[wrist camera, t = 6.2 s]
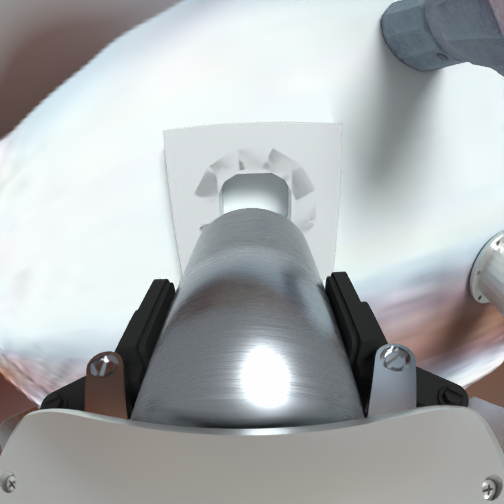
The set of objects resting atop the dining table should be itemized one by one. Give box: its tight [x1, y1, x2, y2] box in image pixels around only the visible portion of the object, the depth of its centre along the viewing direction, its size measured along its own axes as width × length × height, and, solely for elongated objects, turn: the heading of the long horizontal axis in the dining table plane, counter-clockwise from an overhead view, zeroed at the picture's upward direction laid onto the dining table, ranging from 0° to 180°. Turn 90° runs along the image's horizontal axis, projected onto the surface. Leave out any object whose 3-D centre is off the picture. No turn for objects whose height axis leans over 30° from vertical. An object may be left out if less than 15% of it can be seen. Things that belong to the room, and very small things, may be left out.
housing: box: [163, 122, 342, 279], centre depth 28 cm, size 16×16×3 cm
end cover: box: [130, 208, 366, 429], centre depth 10 cm, size 6×6×11 cm
